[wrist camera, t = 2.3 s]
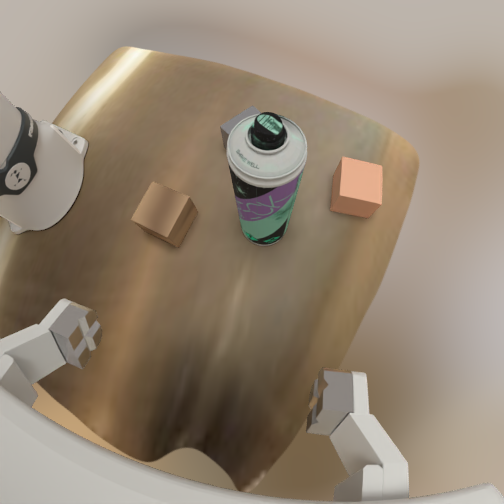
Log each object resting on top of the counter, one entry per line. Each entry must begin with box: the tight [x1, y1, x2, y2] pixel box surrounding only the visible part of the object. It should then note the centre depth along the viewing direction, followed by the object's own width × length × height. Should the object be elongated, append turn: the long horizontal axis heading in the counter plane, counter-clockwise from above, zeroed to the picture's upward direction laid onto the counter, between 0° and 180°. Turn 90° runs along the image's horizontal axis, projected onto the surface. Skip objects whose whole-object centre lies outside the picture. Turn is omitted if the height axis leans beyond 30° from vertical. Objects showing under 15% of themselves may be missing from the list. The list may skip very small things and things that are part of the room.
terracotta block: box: [330, 157, 382, 218], centre depth 34 cm, size 5×5×5 cm
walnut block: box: [131, 181, 198, 248], centre depth 34 cm, size 5×5×5 cm
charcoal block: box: [220, 106, 261, 149], centre depth 36 cm, size 5×5×5 cm
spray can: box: [227, 112, 307, 246], centre depth 26 cm, size 6×6×20 cm
